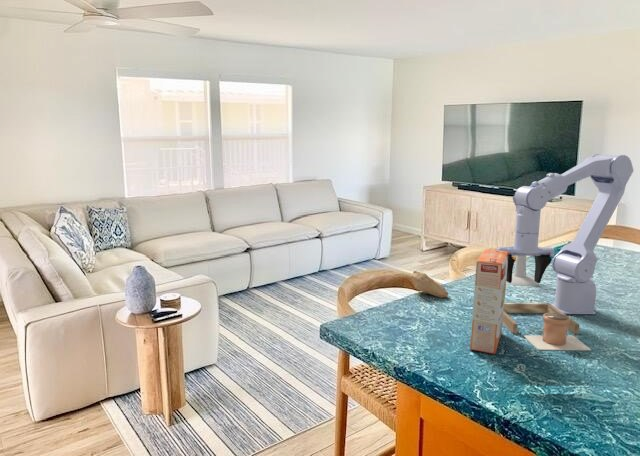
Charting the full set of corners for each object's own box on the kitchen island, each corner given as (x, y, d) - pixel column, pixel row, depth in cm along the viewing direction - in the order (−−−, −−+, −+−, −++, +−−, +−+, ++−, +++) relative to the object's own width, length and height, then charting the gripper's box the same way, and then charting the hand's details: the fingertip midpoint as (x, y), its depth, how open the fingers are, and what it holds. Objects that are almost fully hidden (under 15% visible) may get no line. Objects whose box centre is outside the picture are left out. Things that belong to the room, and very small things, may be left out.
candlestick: (527, 291, 153) (535, 196, 147) (491, 282, 162) (497, 193, 157) (547, 284, 161) (555, 194, 155) (511, 275, 170) (518, 191, 165)
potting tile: (573, 336, 117) (573, 335, 117) (591, 350, 109) (591, 349, 109) (523, 336, 117) (523, 335, 117) (537, 350, 109) (538, 349, 109)
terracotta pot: (554, 335, 117) (556, 311, 116) (572, 344, 112) (575, 318, 111) (535, 338, 115) (538, 313, 114) (553, 347, 110) (556, 321, 109)
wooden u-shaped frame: (548, 311, 134) (549, 303, 134) (578, 334, 118) (579, 324, 118) (490, 311, 134) (491, 302, 134) (512, 333, 118) (513, 324, 118)
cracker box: (497, 355, 106) (504, 263, 102) (468, 350, 109) (474, 260, 105) (503, 333, 118) (509, 250, 115) (478, 329, 121) (483, 248, 117)
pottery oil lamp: (440, 302, 141) (442, 279, 140) (404, 294, 149) (405, 272, 147) (453, 295, 148) (454, 273, 147) (417, 288, 155) (418, 266, 154)
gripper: (547, 229, 131) (543, 277, 133) (494, 229, 131) (490, 277, 133) (560, 234, 124) (555, 285, 126) (503, 234, 124) (499, 284, 127)
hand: (522, 281), depth 129 cm, fingers open, 7 cm apart
